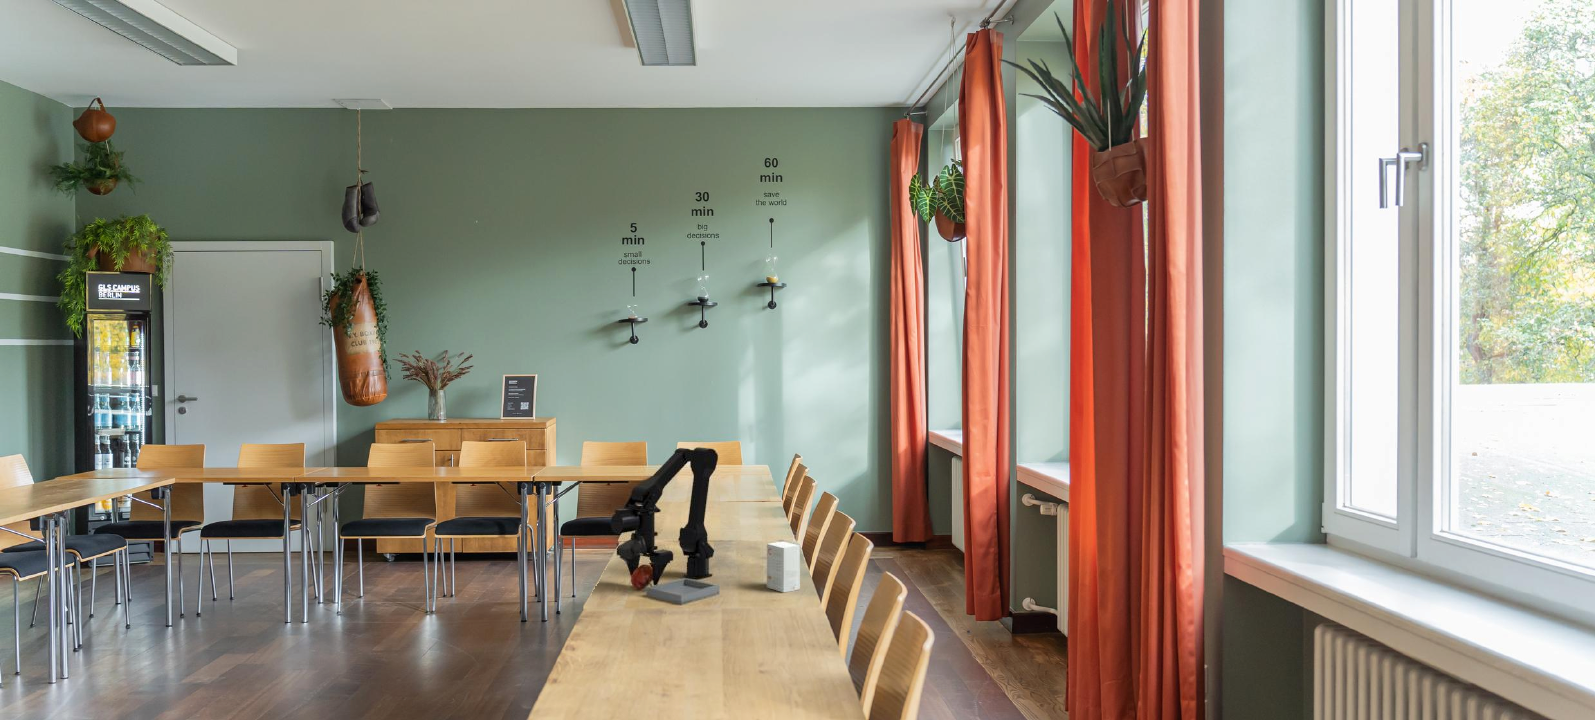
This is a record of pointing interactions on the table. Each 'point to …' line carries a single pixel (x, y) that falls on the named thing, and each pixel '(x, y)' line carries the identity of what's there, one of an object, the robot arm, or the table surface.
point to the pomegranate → (642, 576)
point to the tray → (682, 591)
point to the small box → (783, 566)
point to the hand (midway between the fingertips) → (644, 582)
